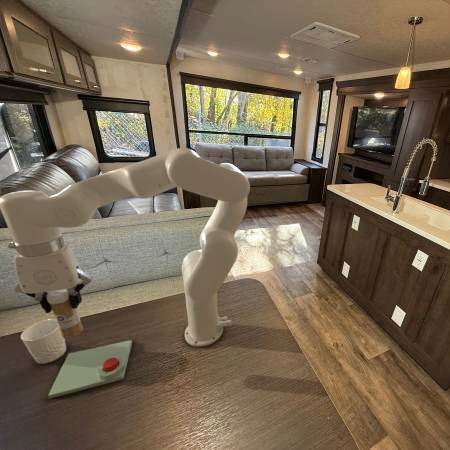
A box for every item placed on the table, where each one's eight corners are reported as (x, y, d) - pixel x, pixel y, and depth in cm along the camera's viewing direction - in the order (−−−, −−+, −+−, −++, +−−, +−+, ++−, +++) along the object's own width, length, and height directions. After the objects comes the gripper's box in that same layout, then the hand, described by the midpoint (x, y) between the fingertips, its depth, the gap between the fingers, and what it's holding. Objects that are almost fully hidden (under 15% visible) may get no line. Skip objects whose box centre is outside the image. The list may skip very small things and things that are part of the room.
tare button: (119, 360, 72) (118, 355, 71) (116, 369, 69) (115, 365, 68) (106, 363, 70) (104, 359, 70) (102, 373, 68) (101, 369, 67)
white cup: (47, 369, 70) (35, 343, 66) (25, 362, 71) (12, 336, 67) (76, 346, 77) (67, 322, 73) (55, 340, 78) (45, 316, 75)
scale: (132, 342, 80) (130, 335, 79) (123, 379, 69) (121, 372, 68) (69, 356, 74) (66, 349, 73) (49, 399, 63) (45, 391, 62)
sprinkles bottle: (58, 340, 64) (42, 299, 59) (65, 328, 68) (50, 288, 63) (81, 335, 66) (67, 295, 61) (86, 323, 70) (73, 284, 65)
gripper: (-23, 258, 50) (10, 325, 57) (82, 248, 57) (100, 310, 64) (0, 241, 56) (28, 304, 64) (92, 234, 63) (107, 292, 70)
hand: (63, 306), depth 64 cm, fingers closed on sprinkles bottle, 4 cm apart
